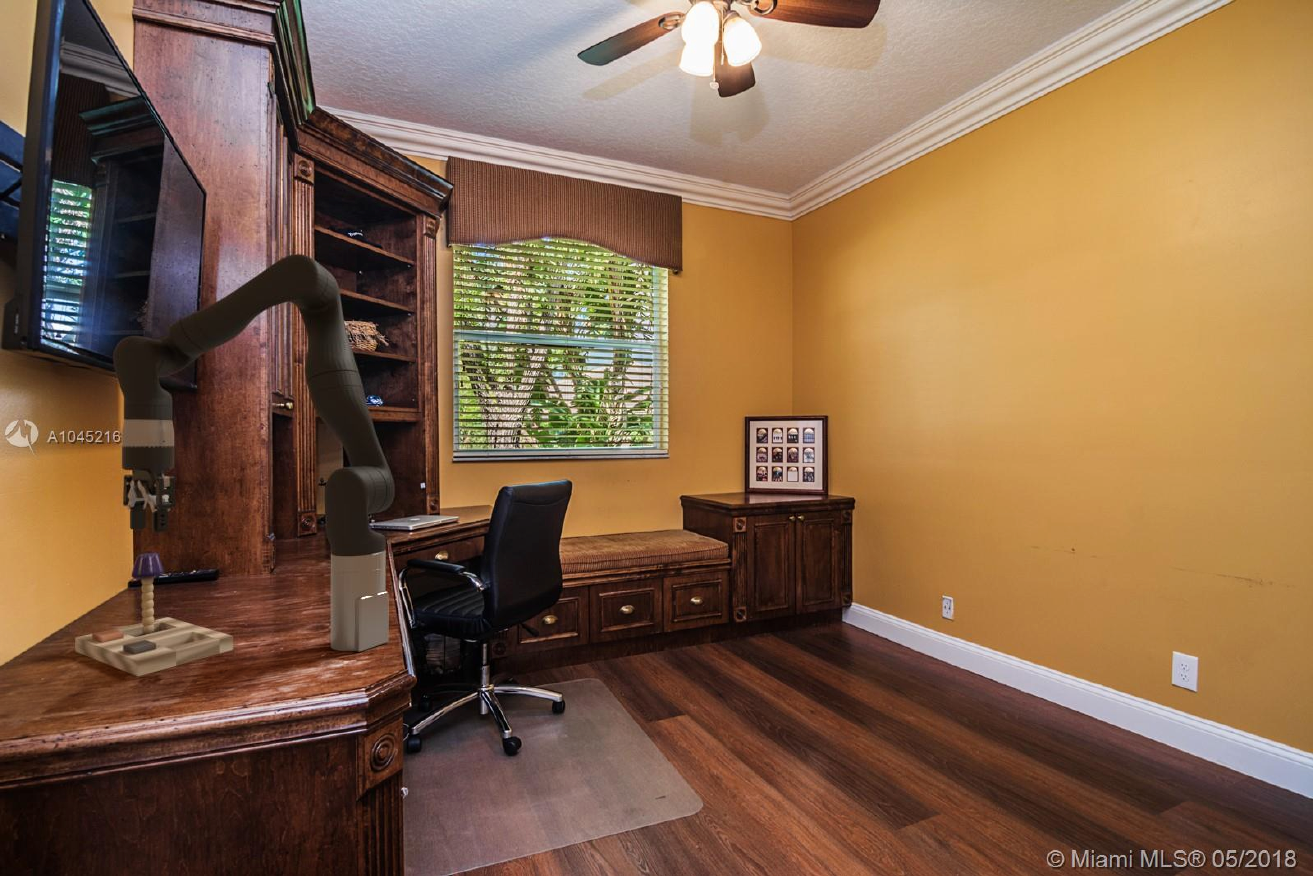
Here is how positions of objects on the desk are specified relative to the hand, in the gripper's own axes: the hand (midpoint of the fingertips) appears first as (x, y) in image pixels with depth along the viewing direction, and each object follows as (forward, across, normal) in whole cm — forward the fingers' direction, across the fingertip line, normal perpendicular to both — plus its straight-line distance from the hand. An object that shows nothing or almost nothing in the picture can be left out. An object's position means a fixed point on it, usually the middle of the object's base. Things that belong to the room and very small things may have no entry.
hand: (148, 530), depth 112 cm
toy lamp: (+21, 0, 0) cm, 21 cm away
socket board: (+21, -6, +1) cm, 22 cm away
